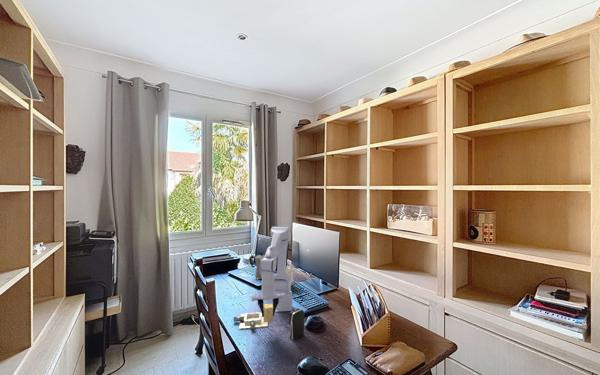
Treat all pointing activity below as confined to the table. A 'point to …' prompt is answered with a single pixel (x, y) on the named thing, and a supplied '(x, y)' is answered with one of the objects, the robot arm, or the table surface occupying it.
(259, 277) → the coffeepot
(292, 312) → the battery charger
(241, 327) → the cream square socket base
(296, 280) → the table surface
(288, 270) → the ink cartridge box
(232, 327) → the table surface
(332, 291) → the table surface
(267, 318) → the coupling block
